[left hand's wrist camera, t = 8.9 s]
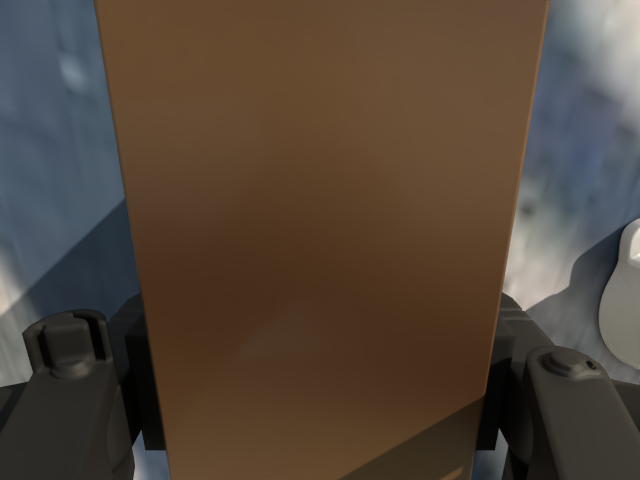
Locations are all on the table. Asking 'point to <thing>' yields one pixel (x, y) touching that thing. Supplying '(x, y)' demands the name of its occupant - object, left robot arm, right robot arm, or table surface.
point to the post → (321, 223)
